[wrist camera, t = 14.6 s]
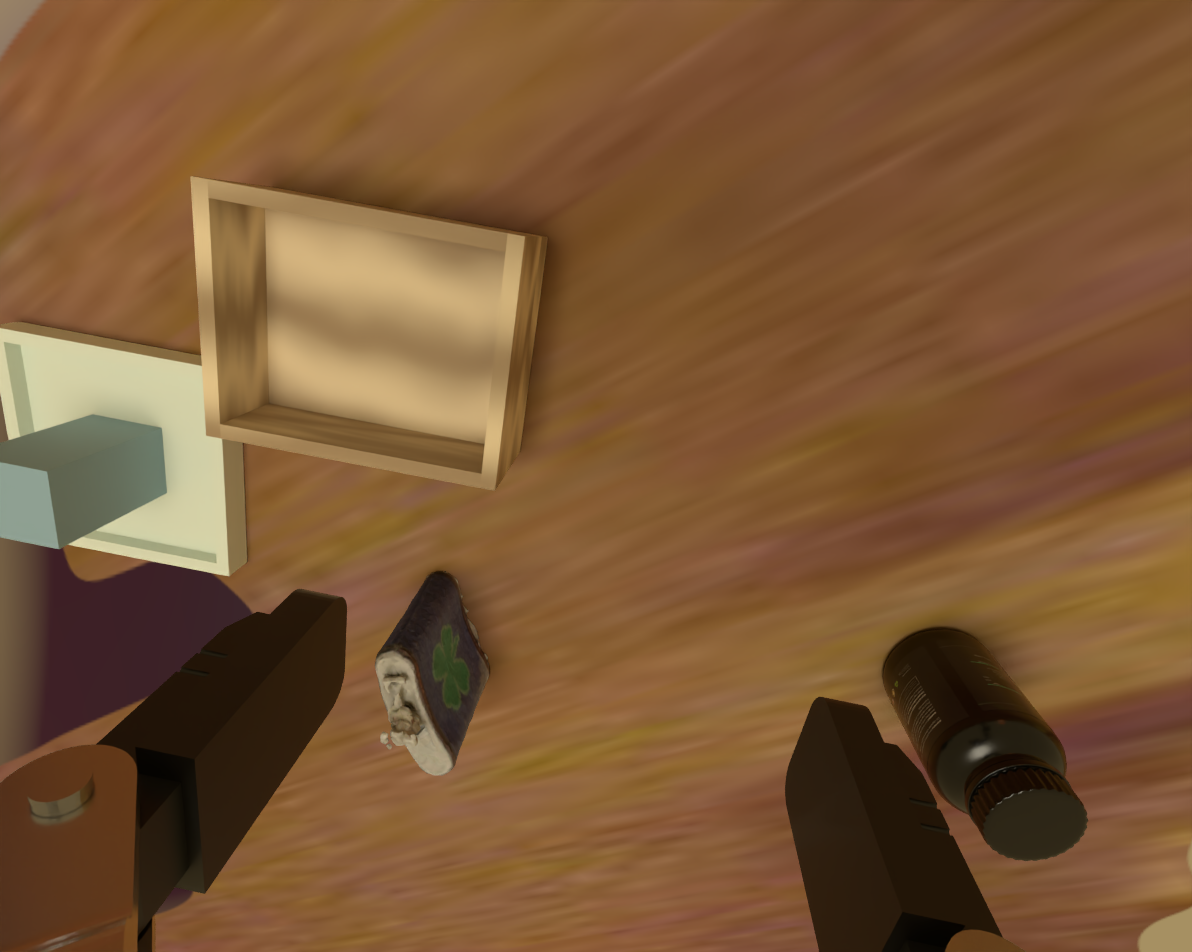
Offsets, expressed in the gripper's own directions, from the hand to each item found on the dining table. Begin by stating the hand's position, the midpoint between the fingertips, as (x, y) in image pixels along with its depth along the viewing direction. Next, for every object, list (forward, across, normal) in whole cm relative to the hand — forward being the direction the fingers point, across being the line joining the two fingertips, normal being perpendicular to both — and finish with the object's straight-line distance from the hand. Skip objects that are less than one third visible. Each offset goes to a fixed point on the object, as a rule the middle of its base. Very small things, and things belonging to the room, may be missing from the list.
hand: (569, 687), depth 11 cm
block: (+27, +30, +11) cm, 42 cm away
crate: (+28, +14, 0) cm, 31 cm away
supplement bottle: (+28, -24, +16) cm, 40 cm away
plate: (+28, +30, +11) cm, 43 cm away
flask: (+28, +8, +20) cm, 36 cm away
